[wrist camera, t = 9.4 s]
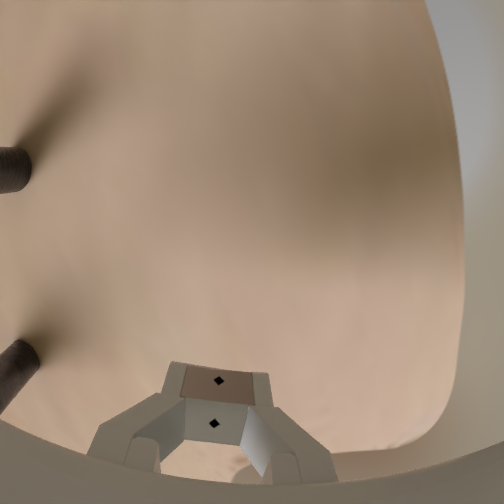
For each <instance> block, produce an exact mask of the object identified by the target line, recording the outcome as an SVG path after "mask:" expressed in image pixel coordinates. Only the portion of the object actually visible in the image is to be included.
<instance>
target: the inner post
mask: <svg viewBox="0 0 504 504" xmlns="http://www.w3.org/2000/svg"><path fill="white" fill-rule="evenodd" d="M30 174H31V160H30V157H29V155H28V153H27V152H26V151H25V150H24V149H22V148H14V147H0V194H4V193H11V192H17V191H20V190H22V189H23V188H24V187H25V186H26V184H27V182H28V180H29V178H30Z"/></svg>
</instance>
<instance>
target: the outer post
mask: <svg viewBox="0 0 504 504" xmlns="http://www.w3.org/2000/svg"><path fill="white" fill-rule="evenodd" d="M38 369H39V359H38V356H37V354H36V353H35V351H34V350H33V349H32V348H31V347H30V346H29V345H28V344H27V343H25V342H23V341H20V340H17V341H15V342H14V343H12V344H11V345H10V346H9V347H8V348H7V349H6V350H5V351H4V352H3V353H1V354H0V415H1V413H2V412H3V411H4V410H5V408H6V407H7V406H8V405H9V404H10V402H11V401H12V400H13V399H14V397H15V396H16V395H17V394H18V393H19V391H20V390H21V389H22V388H23V387H24V385H25V384H26V383H27V382H28V381H29V380H30V378H31V377H32V376H33V375H34V374H35V373H36V371H37V370H38Z"/></svg>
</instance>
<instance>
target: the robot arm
mask: <svg viewBox="0 0 504 504" xmlns="http://www.w3.org/2000/svg"><path fill="white" fill-rule="evenodd" d="M184 439H185V440H193V441H202V442H212V443H219V444H227V445H237V446H240V448H241V449H242V451H243V452H244V454H245V455H246V456H247V458H248V459H249V460H250V462H251V463H252V464H253V466H254V467H255V468H256V470H257V471H258V472H259V474H260V475H261V476H262V480H261V483H260V484H241V483H227V482H215V481H206V480H198V479H190V478H183V477H177V476H171V475H165V474H161V469H160V463H161V462H162V461H163V460H164V459H165V458H166V457H167V456H168V455H169V454H170V453H171V452H172V451H173V450H175V449H176V448H177V447H178V446H179V445H180V444H181V443H182V442H183V441H184ZM0 504H504V441H503V442H500V443H498V444H495V445H493V446H490V447H488V448H485V449H482V450H480V451H477V452H474V453H471V454H468V455H465V456H462V457H459V458H455V459H452V460H449V461H445V462H442V463H438V464H434V465H431V466H427V467H423V468H419V469H414V470H410V471H405V472H400V473H395V474H390V475H385V476H379V477H372V478H366V479H358V480H350V481H340V482H339V481H338V477H337V474H336V471H335V468H334V464H333V461H332V457H331V454H330V451H329V450H327V449H326V448H325V447H324V446H322V445H321V444H320V443H319V442H318V441H316V440H315V439H314V438H313V437H312V436H311V435H309V434H308V433H307V432H306V431H305V430H304V429H302V428H301V427H300V426H299V425H298V424H297V423H295V422H294V421H293V420H292V419H291V418H290V417H289V416H287V415H286V414H285V413H284V412H283V411H282V410H281V409H280V408H279V407H274V406H273V399H272V393H271V386H270V380H269V374H268V373H261V372H242V371H232V370H224V369H218V368H211V367H205V366H199V365H193V364H187V363H181V362H175V361H172V362H171V363H170V365H169V368H168V372H167V375H166V378H165V382H164V385H163V388H162V392H161V393H155V394H153V395H152V396H150V397H148V398H146V399H145V400H143V401H141V402H140V403H138V404H136V405H135V406H133V407H131V408H129V409H128V410H126V411H124V412H122V413H121V414H119V415H117V416H115V417H114V418H112V419H110V420H108V421H106V422H105V423H103V424H101V425H99V428H98V430H97V432H96V434H95V437H94V439H93V441H92V443H91V446H90V448H89V450H88V452H87V455H85V454H82V453H79V452H76V451H73V450H70V449H68V448H65V447H62V446H59V445H57V444H54V443H52V442H49V441H47V440H44V439H42V438H39V437H37V436H35V435H32V434H30V433H28V432H26V431H23V430H21V429H19V428H17V427H15V426H13V425H11V424H9V423H7V422H5V421H3V420H1V419H0Z"/></svg>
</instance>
